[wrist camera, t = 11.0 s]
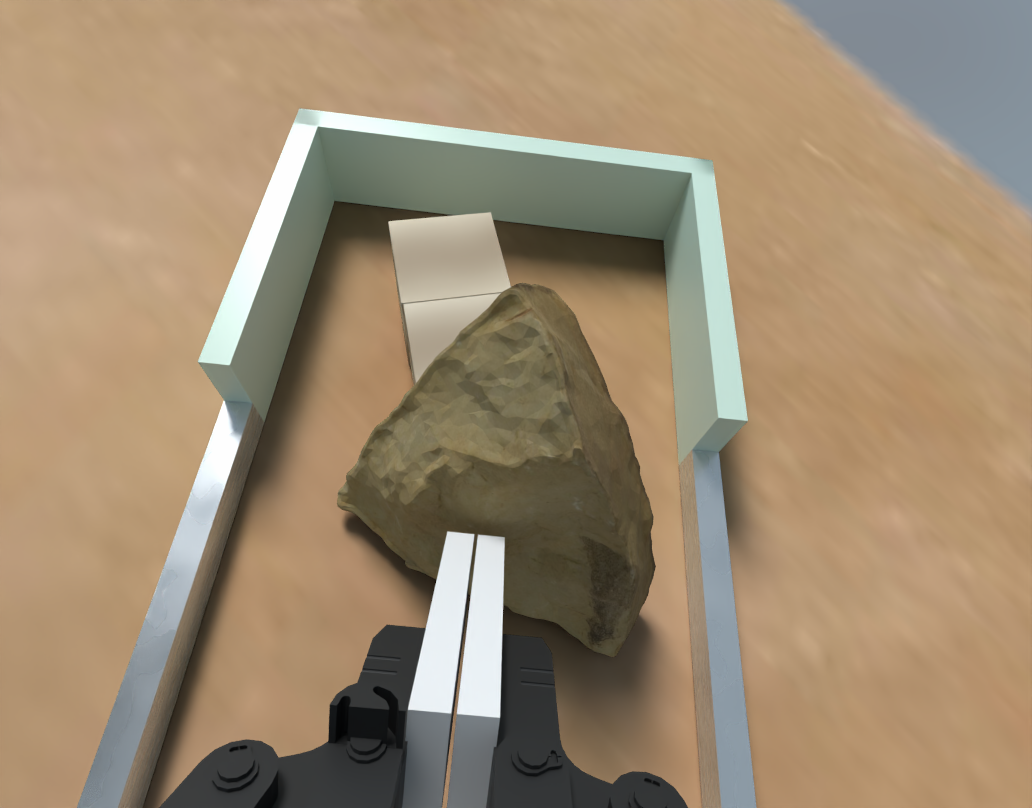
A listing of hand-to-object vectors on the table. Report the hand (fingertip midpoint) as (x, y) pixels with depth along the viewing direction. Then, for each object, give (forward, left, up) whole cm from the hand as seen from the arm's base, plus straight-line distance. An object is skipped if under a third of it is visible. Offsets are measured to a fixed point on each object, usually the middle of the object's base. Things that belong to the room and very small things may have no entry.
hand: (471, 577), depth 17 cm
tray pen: (+10, +6, -4) cm, 12 cm away
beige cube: (+10, +7, -4) cm, 12 cm away
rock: (+2, 0, -4) cm, 4 cm away
